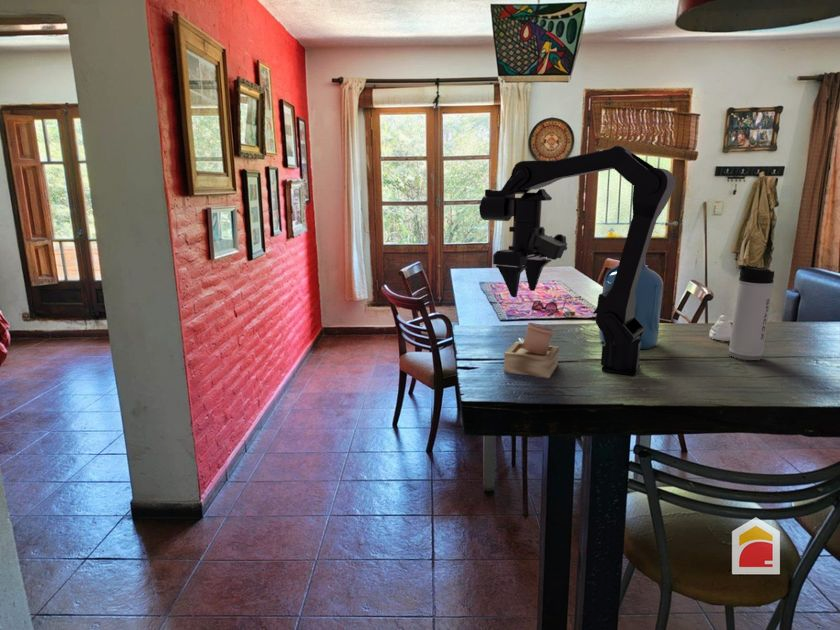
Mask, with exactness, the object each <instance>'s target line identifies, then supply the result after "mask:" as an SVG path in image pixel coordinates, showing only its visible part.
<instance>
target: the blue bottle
mask: <svg viewBox="0 0 840 630" xmlns="http://www.w3.org/2000/svg"><path fill="white" fill-rule="evenodd" d="M631 221H632V220H630V222H629V226H628V230H627V232H628V231H629V228H630V225H631ZM627 235H628V233H627V234H626V236H627ZM618 266H619V264H618V265H617V266H615V267H613V268H611V269H610V270H609V271H608V272H607V273H606V274H605V275H604V280H603V284H602V293H603V292H606V291H608V290H610V289H611V288H612V286H613V283H614V279H615V276H616V272H617V269H618ZM663 291H664V282H663V279H662V277H661V276H660V274H658V273H657V272H656V271H654V270H653V269H650V268H649V267H648V266H647V265H646V258H645V259H644V262H643V266H642V269H641V272H640V275H639V279H638V282H637V285H636V289H635V297H636V306H635V314H634V316H635V317H636V318H637V320H638V321H639V322H640V323H641V324H642V325H643V327H644V328H645V330H644V332H643V334H642V336H641V337H640V338H638V340H641V345H640V350H647V349H650V348H653V347H655V346H657V344H658V341H659V340H658V339H659V332H660V331H659V329H660V321H661V320H660V319H661V313H662V312H661V310H662V301H663V293H664V292H663ZM598 338H599V340H600V341H601V342H603V343H604V344H605V343H606V342H605V340H604V336H603V333H602V331H601V330H600V329H599V333H598Z"/></svg>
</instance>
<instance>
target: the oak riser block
mask: <svg viewBox="0 0 840 630" xmlns="http://www.w3.org/2000/svg"><path fill="white" fill-rule="evenodd" d="M523 342H524V341H515V342H514V343H513V344H512V345H510V347H509V348H508V349H506V351H505V352H504V360H503V362H504V363H503V365H504V366H503V372H504V373H511V374H516V375H517V374H518V375H525V376H532V377H539V378H546V379H550V378H551V376H552V375H553V373H554V371H555V369H557V366H558V365H559V354H560V353H559V351H560V350H559V349H560V346H559V345H551V344H549V347H548V350H547V353H546V355H541V354H536V353H533V352H530V351H528V350H525V349H524V348H522V345H523Z"/></svg>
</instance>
